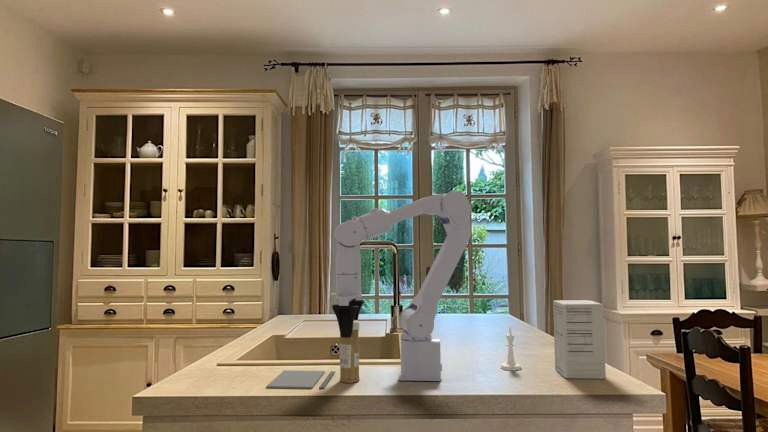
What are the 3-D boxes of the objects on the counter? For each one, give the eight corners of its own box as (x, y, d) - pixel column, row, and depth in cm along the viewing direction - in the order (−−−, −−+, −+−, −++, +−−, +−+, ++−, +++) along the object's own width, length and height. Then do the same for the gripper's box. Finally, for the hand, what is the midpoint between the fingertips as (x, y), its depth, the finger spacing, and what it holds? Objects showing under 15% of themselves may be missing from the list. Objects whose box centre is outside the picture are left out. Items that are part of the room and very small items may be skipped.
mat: (324, 372, 128) (324, 370, 128) (312, 388, 114) (312, 386, 114) (283, 372, 129) (283, 370, 129) (266, 388, 115) (266, 386, 115)
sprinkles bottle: (363, 381, 120) (363, 320, 120) (345, 384, 117) (345, 322, 118) (353, 377, 123) (352, 318, 124) (335, 380, 121) (335, 320, 121)
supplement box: (606, 379, 120) (605, 304, 121) (565, 379, 120) (563, 304, 121) (592, 369, 129) (590, 299, 130) (553, 369, 130) (552, 299, 131)
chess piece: (500, 370, 129) (499, 328, 130) (501, 365, 134) (500, 325, 134) (521, 371, 128) (520, 329, 129) (521, 366, 133) (520, 325, 133)
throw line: (335, 372, 128) (335, 371, 128) (323, 388, 114) (323, 387, 114) (331, 372, 128) (331, 371, 128) (319, 388, 114) (319, 387, 114)
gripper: (336, 272, 129) (336, 328, 128) (324, 276, 114) (325, 340, 114) (365, 272, 128) (365, 328, 128) (357, 276, 114) (357, 340, 113)
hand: (348, 334), depth 121 cm, fingers open, 7 cm apart
